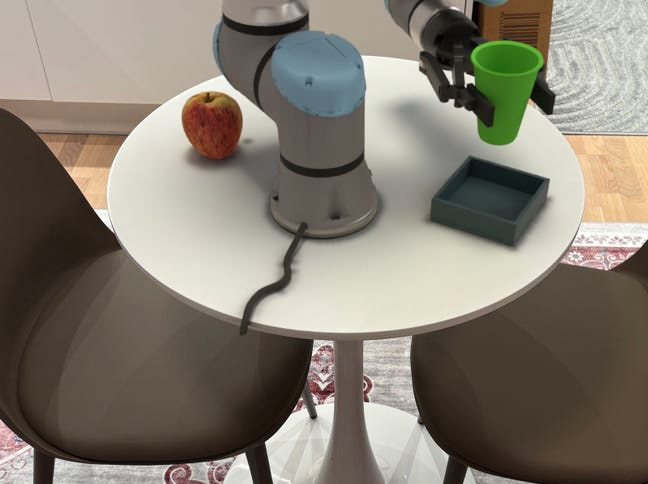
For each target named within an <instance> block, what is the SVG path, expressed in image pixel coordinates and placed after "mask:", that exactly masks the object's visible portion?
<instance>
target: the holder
mask: <svg viewBox="0 0 648 484" xmlns="http://www.w3.org/2000/svg"><path fill="white" fill-rule="evenodd" d="M550 183H551V178H548V177H545V176H542V175H538V174H535V173H532V172H528V171H525V170H521V169H519V168H514V167H512V166H508V165H503V164H501V163H497V162H495V161H491V160H487V159H484V158H480V157H477V156H473V155H470V154H469V155H468V156H467V157H465V159H464V160H463V162H462V163H461V164H460V165H459V166H458V167H457V168H456V170H455V171H454V172H453V173H452V174H451V175H450V176H449V177H448V179H447V180H446V181H445V182H444V184H443V185H442V186H441V187H440V188H439V189H438V190H437V191H436V192H435V194H434V195H433V196H432V197H431V199H430V201H431V202H430V213H429V214H430V215H429V217H430V218H429V220H430V221H434V222H437V223H440V224H443V225H446V226H449V227H451V228H455V229H457V230H461V231H464V232H467V233H469V234H473V235H476V236H479V237H482V238H485V239H488V240H492V241H494V242H497V243H501V244H504V245H507V246H509V247H515V245H516V244H517V242H518V241H519V239H520V238H521V237H522V235H523V234H524V232H525V231H526V229H527V228H528V227H529V225H530V224H531V222H532V221H533V219H534V218H535V217H536V215H537V214H538V212H539V211H540V210H541V208H542V207H543V205H544V204H545V203H546V201H547V198H548V193H549V188H550Z"/></svg>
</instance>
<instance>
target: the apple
mask: <svg viewBox="0 0 648 484" xmlns="http://www.w3.org/2000/svg"><path fill="white" fill-rule="evenodd" d="M180 115H181V116H180V118H181V126H182V129H183V132H184V134H185V137H186V139H187V140H188V141H189V143H190V144H191V146H192V147H193V148H194V149H195V150H196V151H197V152H198V153H199V154H201V155H202V156H205V157H207V158H210V159H214V160H215V159H216V160H222V159H225V158H227V157H229V156H231V155H232V154H233V153H234V152H235V151H236V149H237V147H238V144H239V142H240V140H241V136H242V132H243V127H244V118H243V113H242V109H241V106H240V104H239V103H238V101H237V100H236V99H235V98H233V97H232V96H231V95H229V94H227V93H224V92H221V91H215V90H208V91H201V92H199V93H196V94H194V95H192V96H190V97H188V99H187V100H186V101H185V102H184V104H183V107H182V110H181V114H180Z"/></svg>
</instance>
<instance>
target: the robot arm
mask: <svg viewBox="0 0 648 484" xmlns="http://www.w3.org/2000/svg"><path fill="white" fill-rule="evenodd" d="M472 1H473V2H479V3H481V4H483V5H486V6H488V7H499V6H501V5H504V4H505V3H507V2H508V1H509V0H472ZM383 3H384V7H385V9H386V11H387V13H388V14H389V15H390V16H391V17H390V18H391V19H392V21H393V22H394V23H395V25H397V26H398V27H399V29H401V30H403V32H405V34H406V35H407V36H408V37H409V38H410V39H411V40H412V41H413V42H414V43H415V44H416V45H417V47H418V48H419V49H421V51H420V52H419V56H418V57H419V58H418V71H419V72H420V73H421V74H423V75H424V76H426V78H427V80H428V82H429V84H430V86H431V87H432V89H433V91H434V93H435V95H436V97H437V99H438V101H439V102H440V103H442V104H446V103H449V101H450V100H453V107H454V108H455V109H461V108H463V109H464V110H466V111H467V112H472V113H473V114H474V115H475V116H476V118H477V117H478V118H479V119H480V120H481V121H482V123H483V124H484V125H485V126H486V127H487V128H489V127H493V121H494V113H495V106H494V105H493V104H492V103H491V102H490V101H489V100H488V99H487V98H486V97H485V96H484V95H483V94H482V93H481V92H480V91H479V90H478V89H477V88H476V86H475V83H473V82H469V83H466V78H465V73H468V72H471V71H474V64H473V63H472V61H471V54H472V52H473V50H474V49H475V48H476V47H478V46H480V45H482V44H484V43H488V42H491V40H489V39H487V38H484V37H482V34H481V32H480V30H479V27H478V26H477V25H476V23H475V22H474V21H473V20H472V19H470V18H469V17H468V16H467V15H466V14H465V13H464V12H463V11H462V10H461V9H460V8H459V7H458V6H457V5H456V4H455V3H453V2H452V1H451V0H383ZM221 14H222V15H221V16H220V20H219V23H218V24H216V25H215V28H214V30H213V34H212V43H211V45H212V54H213V58H214V62H215V64H216V66H217V69H218V70H219V72H220V74H221V75H222V76H223V77H224V78H225V80H226V82H228V84H229V85H230V86H231V87H232V88H233V90H236V91H237V92H239V93H240V94H241V95H242V96H244V97H245V98H246V99H247V100H248V101H249V102H251V103H252V104H253V106H255V107H256V108H257V109H259V110H260V111H261V112H262V113H264V114H265V115H266V116H267V117H268V118H269V119H270V120H271V121H273V122H274V124H275V126H276V128H277V139H278V149H279V163H278V167H277V170H276V173H275V176H274V181H273V184H272V188H271V192H270V209H271V214H272V216H273V219H274V220H275V222H277V223H278V224H279V225H280V226H281V227H283V228H284V229H286V230H287V231H289V232H292V233H293V234H295V235H294V237H293V239H292V241H291V243H290V245H289V247H288V248H287V250H286V253H285V255H284V258H283V270H284V273H283V276H282V277H281V278H280V279H279V280H277V281H275V282H272V283H270V284H268V285H265V286H263V287H261V288H259V289H258V290H256V291H255V293H253V294H252V296H251V297H250V298H249V299H248V301H247V303H246V305H245V306H244V310H243V314H242V317H241V322H240V327H239V336H245V335H247V333H248V329H249V324H250V319H251V316H252V311H253V309H254V306H255V304H257V302H258V301H259V300H261V298H262V297H263V296H265V295H267V294H268V293H271V292H274V291H276V290H279V289H281V288H282V287H283V288H284V286H286V285H287V284H288V282H289V281H290V280H291V277H292V268H291V261H292V258H293V255H294V253H295V251H296V250H297V248H298V245H299V244H300V242H301V240H302V239H303V236H304V237H308V238H319V239H325V238H326V239H328V238H336V237H337V238H338V237H342V236H346V235H350V234H352V233H355V232H356V231H359V230H361V229H362V228H364V227H365V226H367V225H368V224H369V223H370V222H371V221H372V220H373V219H374V217H375V215H376V214H377V210H378V190H377V187H376V184H375V183H374V181H373V178H372V177H373V173H372V170H371V169H370V168H369V166H368V163H367V161H366V157H365V156H366V155H365V153H366V152H365V147H366V146H365V145H366V139H365V138H366V137H365V136H366V131H365V130H366V91H367V82H366V81H367V79H366V74H365V66H364V60H363V57H362V55H361V53H360V52H359V50H358V49H357V48H356V47H355V45H354V44H352V42H350V41H349V40H348V39H346V38H344V37H342V36H340V35H338V34H335V33H330V34H326V32H325V31H322V30H310V6H309V1H308V0H222V3H221ZM500 41H512V39H511V37H509V36H502V37H501V40H500ZM546 69H547V64H546V63H543V66H542V67H541V68H540V69H539V70H538V73H537V76H536V79H535V82H534V85H533V88H532V92H531V95H530V98H529V100H530V101H532V102H533V103H534V104H535V105H536V106H537V107H538V108H539V109H540V110H541V111H542V112H543V113H544V114H545V115H546V116H552V115H553V114H554V109H555V104H556V103H555V102H556V97H557V94H556V93H555V92H554V91H553V90H551V88H549V83H547V81H545V75H546ZM444 71H447V72H451V80H452V84H451V82H450V80H449V78H448V77H447V74H446V72H444ZM246 450H247V456H248V462H249V469H250V475H251V479H252V480H251V481H252V484H260V479H259V473H258V467H257V461H256V455H255V449H254V448H253V447H251V446H248V445H246Z"/></svg>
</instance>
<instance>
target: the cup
mask: <svg viewBox="0 0 648 484" xmlns="http://www.w3.org/2000/svg"><path fill="white" fill-rule="evenodd" d="M471 61H472V63H473V64H474V70H473V77H474V85H475V86H476V88H477V89H478V90H479V91H480V92H481V93H482V94H483V95H484V96H485V97H486V98H487V99H488V100H489V101H490V102H491V103H492V104H493V105H494V106H495V113H494V121H493V127H489V128H487V127H486V126H485V125H484V124H483V123H482V121H481V120H480V119H479V118H478V117H477V116H476V123H477V125H476V126H477V134H478V136H479V139H480V140H481V141H482V142H484V143H486V144H487V145H491V146H499V147H500V146H506V145H507V146H508V145H510V144H512V143H513V142H514V141H515V140H516V138H517V137H518V135H519V131H520V129H521V125H522V122H523V119H524V116H525V114H526V110H527V108H528V104H529V101H530V95H531V92H532V88H533V85H534V82H535V79H536V76H537V73H538V70H539V69H540V68H541V67H542V66H543V63H544V62H545V59H544V57H543V54H542V53H541V52H540V51H539V50H538V49H536V48H535V47H533V46H531V45H529V44H526V43H523V42H519V41H513V40H511V41H501V40H493V41H490V42H488V43H484V44H482V45H480V46H478V47H476V48H475V49H474V50H473V52H472V54H471ZM544 64H545V63H544Z"/></svg>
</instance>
